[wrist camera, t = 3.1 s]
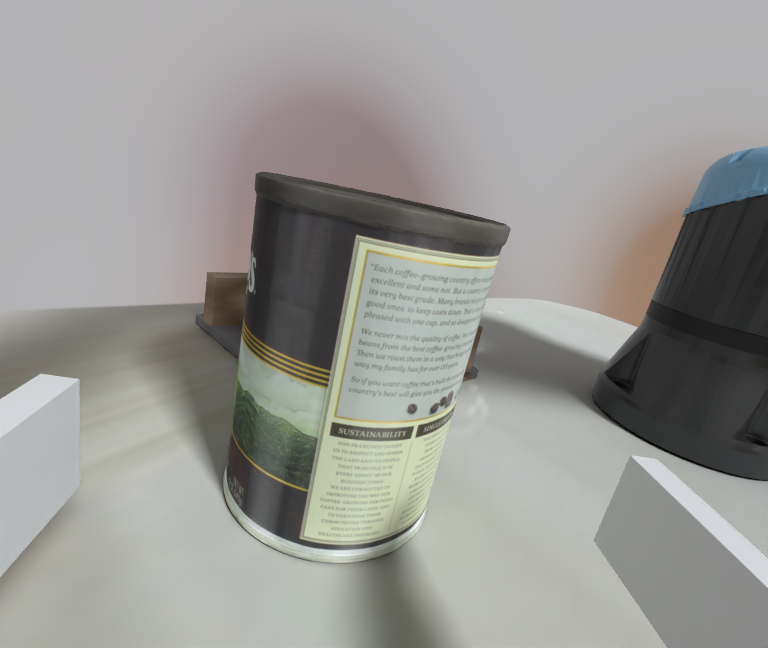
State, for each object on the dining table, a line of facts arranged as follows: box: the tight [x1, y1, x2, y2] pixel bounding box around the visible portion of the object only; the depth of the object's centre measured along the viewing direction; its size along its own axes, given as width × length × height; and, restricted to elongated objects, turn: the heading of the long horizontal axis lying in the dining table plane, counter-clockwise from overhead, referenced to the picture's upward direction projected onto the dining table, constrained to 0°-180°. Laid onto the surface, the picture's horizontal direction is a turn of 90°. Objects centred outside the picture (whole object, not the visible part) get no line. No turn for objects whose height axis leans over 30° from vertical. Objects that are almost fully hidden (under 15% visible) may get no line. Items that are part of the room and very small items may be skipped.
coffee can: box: [223, 172, 510, 563], centre depth 20 cm, size 10×10×14 cm
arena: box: [196, 272, 483, 381], centre depth 38 cm, size 18×18×5 cm
